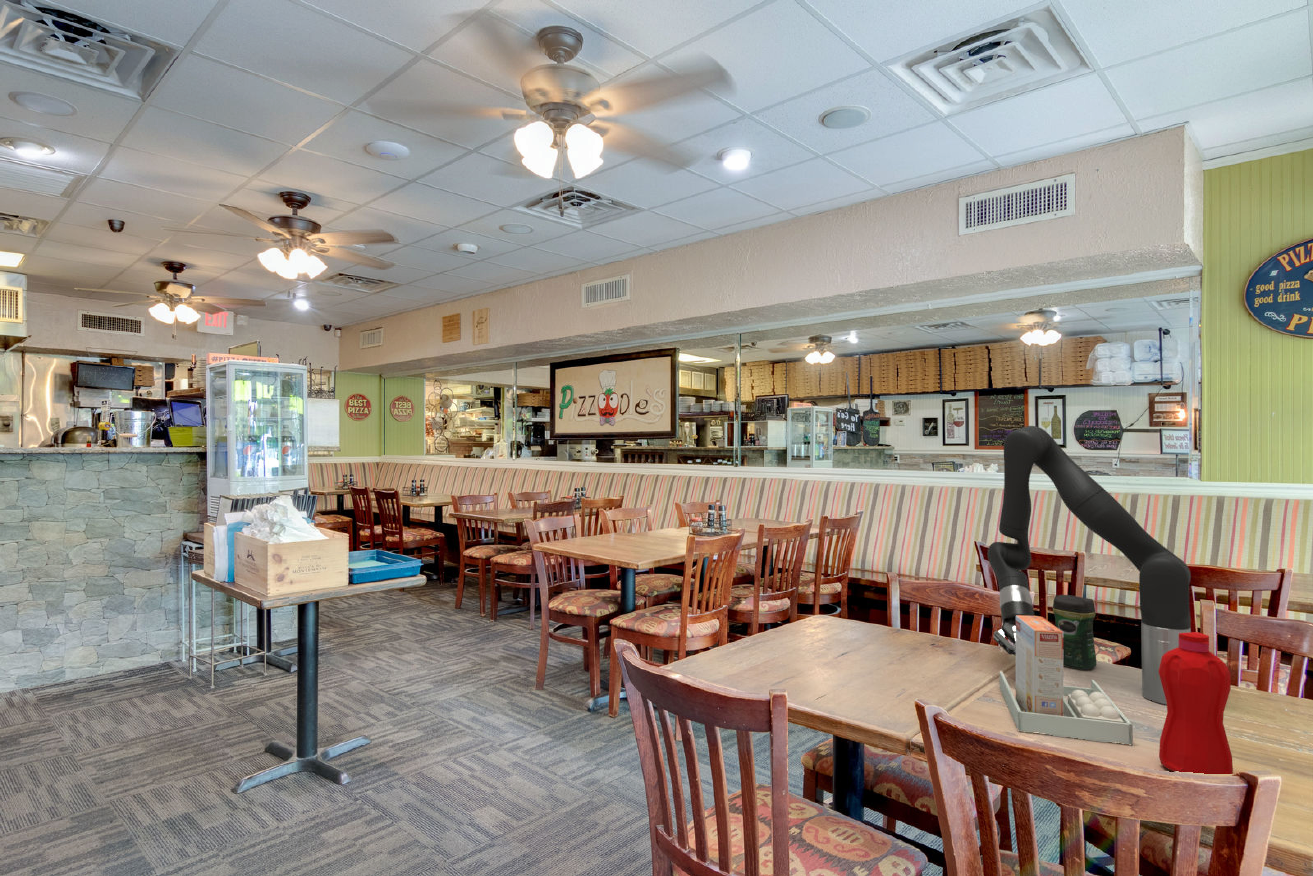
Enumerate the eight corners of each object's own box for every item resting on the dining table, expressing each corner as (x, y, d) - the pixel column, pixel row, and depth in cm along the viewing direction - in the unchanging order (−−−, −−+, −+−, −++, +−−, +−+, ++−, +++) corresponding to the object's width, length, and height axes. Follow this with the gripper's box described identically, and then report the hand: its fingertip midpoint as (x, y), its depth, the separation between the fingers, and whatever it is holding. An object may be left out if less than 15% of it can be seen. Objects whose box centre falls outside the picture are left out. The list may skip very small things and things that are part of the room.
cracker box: (1065, 734, 140) (1064, 631, 141) (1033, 731, 142) (1032, 629, 142) (1044, 709, 154) (1043, 615, 154) (1014, 707, 155) (1013, 613, 156)
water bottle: (1186, 756, 131) (1184, 623, 131) (1243, 783, 120) (1241, 638, 120) (1142, 759, 129) (1141, 625, 130) (1196, 787, 118) (1194, 640, 119)
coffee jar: (1101, 667, 184) (1100, 597, 184) (1087, 673, 179) (1086, 601, 180) (1062, 658, 192) (1062, 591, 192) (1048, 663, 187) (1047, 594, 188)
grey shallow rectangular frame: (1094, 697, 162) (1094, 680, 162) (1132, 745, 135) (1132, 725, 135) (999, 687, 168) (999, 671, 168) (1018, 731, 142) (1018, 712, 142)
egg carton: (1104, 718, 150) (1104, 689, 150) (1123, 744, 136) (1123, 712, 137) (1067, 714, 152) (1067, 685, 152) (1083, 739, 139) (1083, 707, 139)
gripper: (989, 597, 177) (996, 659, 165) (1047, 601, 173) (1059, 665, 161) (987, 614, 182) (993, 675, 170) (1043, 617, 177) (1054, 680, 166)
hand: (1025, 670), depth 165 cm, fingers closed
